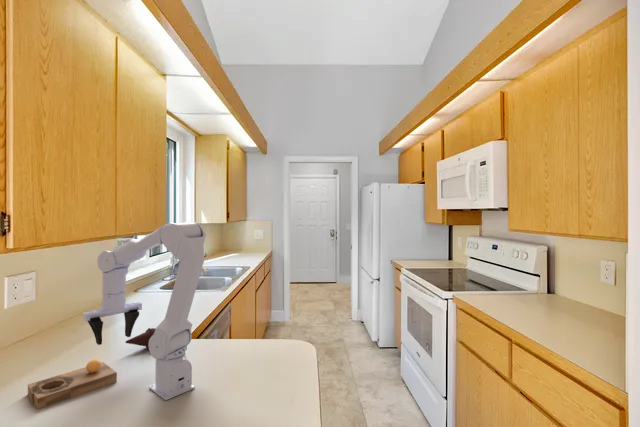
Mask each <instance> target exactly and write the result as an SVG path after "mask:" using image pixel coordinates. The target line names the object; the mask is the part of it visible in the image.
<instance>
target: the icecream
mask: <svg viewBox="0 0 640 427" xmlns="http://www.w3.org/2000/svg"><path fill="white" fill-rule="evenodd" d="M155 329H156V328H154V327H153V328H150V327H149V328H148V329H146V330H145V332H143V333H140V334H138V335H136V336H134V337H132V338H131V337H130V338H129V339H128V340H125V344H129V345H136V346H141V347H145V348H146V349H148V350H149V346H148V344H149V340H150V338H151V337H152V336H153V334H154V333H155Z"/></svg>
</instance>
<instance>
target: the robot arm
mask: <svg viewBox="0 0 640 427" xmlns="http://www.w3.org/2000/svg"><path fill="white" fill-rule="evenodd" d="M206 236H207V234H206V232H205V230H204V228H203V227H202V226H201V224H199V223H198V222H197V221H191V222H178V223H177V222H176V223H175V222H168V223H166V224H164V225H161V226H159V227H158V228H157V229H156V230H154V231H152V232H151V233H150V234H148V235H146V236H144V237H143V238H141V239H137V238H128V239H125V243H123V244H121V245H116V246H114V248H113V249H112V250H103V251H102V252H100V253H99V255H98V256H97V261H96V262H97V268H98V269H99V270H100V271H101V273H102V278H101V279H102V281H101V282H102V283H101V284H102V287H101V289H102V292H101V294H102V298H101V300H102V301H101V302H102V303H101V304H102V305H101V306H102V307H100V308H97V309H94V310H90V311H86V312H83V313H82V314H83V315H82V317H83V318H82V319H83V320H82V321H84V322H87V324H88V325H89V327H90V328H91V330H92V332H93V336H94V338H95V343H96V345H98V346H100V345H102V344H103V326H104V325H103V324H104V321H102V318H104V317H110V316H114V315H118V314H123V315H124V316H123V317H124V335H125V337H127V338H131V336H132V333H133V328H134V326H135V323H136V322H137V319H138V318H139V316H140V311H141V310H143V303H142V302H140V301H138V302H132V303H130V302H129V303H127V302H126V300H127V299H126V297H127V296H126V295H127V294H126V293H127V292H126V291H127V286H126V285H127V284H126V283H127V278H126V277H127V275H128V273H129V268H130V266H131V264H132V263H135V262H137V261H139V260H141V259H143V258H144V257H145V256H146V255H147V251H149V250H152V249H153V248H156V247H158V246H160V245H163V246H164V247H165V248H166V250H168V252H169V253H171V255H172V256H173V257H174V258H175V259H177V260H178V261H179V266H178V269H177V273H176V277H175V281H174V284H173V288H172V291H171V295H170V300H169V302H168V305H167V309H166V312H165V316H164V319H163V320H162V321H161V322H160V323H159V324H158V325H157V326H156V329H155V333H154V334H153V336H152V337H151V338H150V340H149V344H148V346H149V349H148V351H149V353H150V354H151V356H152V357H153V359H155V383H153V384H150V385H149V386H148V388H149V389H150V390H151V391H153V392H154V393H155V394H157V395H158V396H159V397H161V398H162V399H163V400H164V401H167V400H168V401H169V400H170V399H172V398H174V397H177V396H179V395H182V394H184V393H186V392H188V391H191V390H194V389H195V387H196V386H195V385H193V383H192V381H193V380H192V379H193V377H192V376H193V375H192V374H193V371H192V370H193V367H192V363H191V361H190V360H188V358H187V355H186V351H187V350H188V346H189V345H190V344H191V341H192V338H193V337H192V336H193V335H192V329H193V328H192V327H193V323H192V322H191V321H190V320H189V319H188V318H189V315H190V311H191V307H192V304H193V302H194V299H195V298H194V297H195V293H196V291H197V287H198V283H199V281H200V277H201V273H202V269H203V265H204V262H205V249H204V248H205V247H204V244H205V240H206Z"/></svg>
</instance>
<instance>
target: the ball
mask: <svg viewBox="0 0 640 427" xmlns="http://www.w3.org/2000/svg"><path fill="white" fill-rule="evenodd" d="M101 363H102V361H100V360H99V359H96V358H94V359H91V360H89V361H88V362H87V363H86V366H85V367H86V370H87V371H88V372H90V373H94V372H97V371H98V370H99V369H100V367H101Z"/></svg>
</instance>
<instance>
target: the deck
mask: <svg viewBox="0 0 640 427" xmlns="http://www.w3.org/2000/svg"><path fill="white" fill-rule="evenodd" d="M117 373H118V372H117V371H116V370H114V368H111V367H110V366H109V365H108V364H107V363H105V362H104V361H101V367H100V369H99V370H98V371H97V372H94V373H90V372H88V371H87V370H86V366H85V367H82V368H77V369H75V370H72V371H69V372H66V373H62V374H58V375H55V376H51V377H48V378H45V379H42V380H38V381H36V382H35V381H34V382H32V383H28V384H27V396H29V402H31V404H32V405H34V406H35V408H36V409H37V410H39V409H43V408H45V407H48V406H51V405H53V404H56V403H57V404H58V403H60V402H62V401H65V400H68V399H71V398H73V397H74V398H75V397H76V396H77V397H78V396H79V395H82V394H85V393H88V392H91V391H94V390H98V389H99V388H102V387H105V386H108V385H111V384H115V383H116V382H117V381H118V377H117V376H118V374H117Z"/></svg>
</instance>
